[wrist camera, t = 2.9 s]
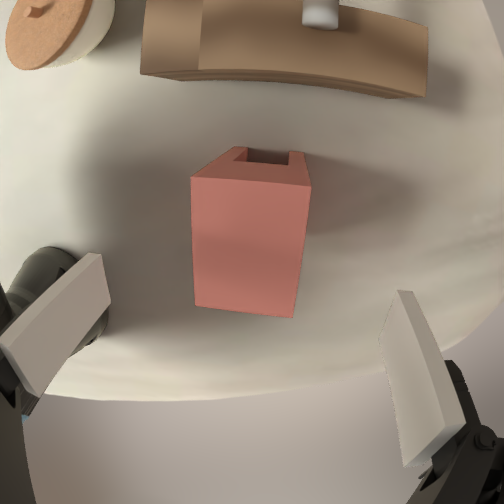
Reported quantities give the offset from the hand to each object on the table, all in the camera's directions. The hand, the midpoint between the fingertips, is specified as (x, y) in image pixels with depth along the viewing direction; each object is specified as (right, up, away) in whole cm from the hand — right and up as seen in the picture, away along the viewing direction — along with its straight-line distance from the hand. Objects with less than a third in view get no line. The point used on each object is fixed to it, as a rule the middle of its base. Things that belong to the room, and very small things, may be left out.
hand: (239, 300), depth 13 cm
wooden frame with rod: (+4, +27, +4) cm, 27 cm away
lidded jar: (-16, +25, +8) cm, 31 cm away
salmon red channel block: (+2, +7, +14) cm, 16 cm away
